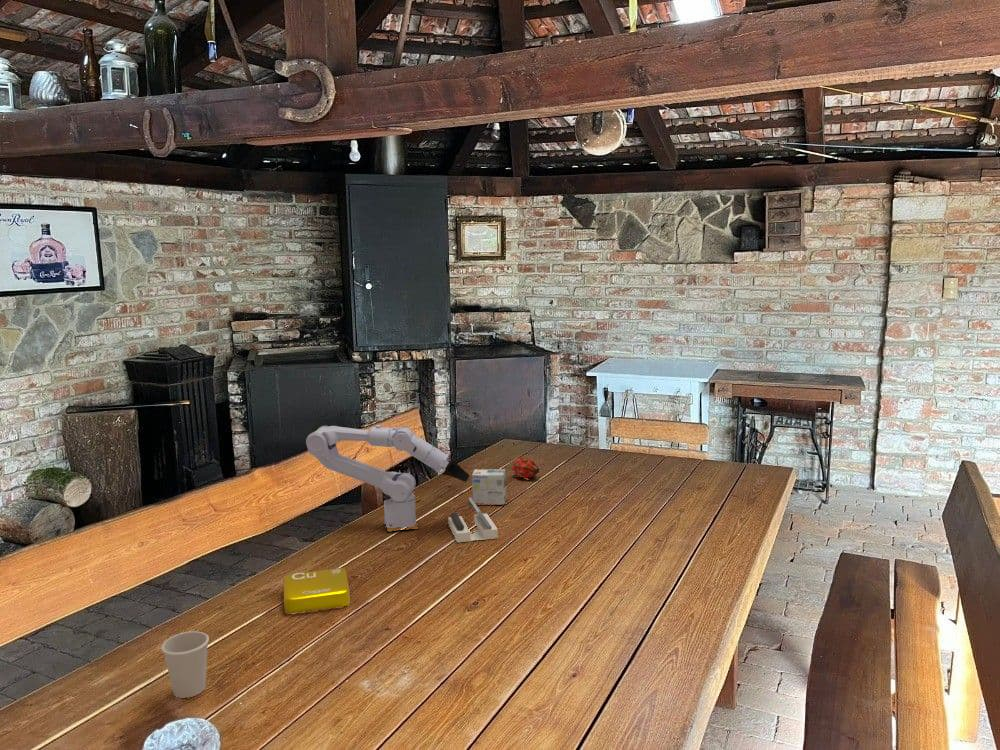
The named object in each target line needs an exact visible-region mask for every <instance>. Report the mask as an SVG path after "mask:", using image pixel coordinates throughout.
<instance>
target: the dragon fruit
mask: <svg viewBox="0 0 1000 750" xmlns="http://www.w3.org/2000/svg"><path fill="white" fill-rule="evenodd" d="M512 463H513V465H512V466H511V468H510V470H511V471H512V472H514V476H515V477H516V476H517V477H518V476H520V478H521V477H524V478H528V477H529V478H536V477H537V475H538V473H539V471H540V468H539V467H538V465H537V464H536V462H534V460H533V461H532V460H531V459H530V458H529V457H526V456H521V457H517V458H516V459H515V460H514V462H512ZM518 478H519V477H518ZM529 478H528V479H529Z"/></svg>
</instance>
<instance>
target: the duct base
mask: <svg viewBox="0 0 1000 750" xmlns="http://www.w3.org/2000/svg"><path fill="white" fill-rule="evenodd" d="M483 515H484V516H485V518H486V519H487V521H488V522H489V524H490V525H491V527H492V528H491V529H489V528H488V527H487V525H486V524H485V522H484V521H483V520H482V518H481V517H480V515H479V514H478V513H477V514H474V515H473V523H474V522H475V524H476V526H477V529H478V530H475V531H473V532H475V533H473V534H471V533H472V532H470V530H469V529H468V527H467V525H466V523H467V522H465V520H464V518H463V517H462V515H458V516H459V518H460V520H461V522H462V524H463V525H464V529H463V530H462V531H459V530H458V529H457V527H456V525H455V523H454V522H453V520H452V518H451V516H448V518H447V519H448V520H447V523H448V524H449V526H448V528H449V527H450V529H451V531H452V533H453V535H454V537H455V539H456V541H457V542H466V541H474V540H486V539H494V538H498V539H499V530H498V527H497V526H496V525H495V523H494V521H493V520H492V519H491V518H490V516H489V515H488V513H483ZM450 529H449V530H450ZM451 531H450V532H451ZM476 531H477V532H476ZM452 533H451V534H452ZM453 535H452V536H453ZM454 537H453V538H454ZM455 539H454V540H455ZM456 541H455V542H456ZM486 541H487V540H486Z"/></svg>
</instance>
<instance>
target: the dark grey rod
mask: <svg viewBox="0 0 1000 750" xmlns="http://www.w3.org/2000/svg"><path fill="white" fill-rule="evenodd" d="M459 516H460V515H459V514H458V513H457V512H453V513H452V512H451V515H450V517H451V518H452V520H453V522H454V523H455V525H456V527H457V529H458V530H459V531H462V530H463V529H464V525H463V524H462V522H461V520H460V518H459Z"/></svg>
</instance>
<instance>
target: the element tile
mask: <svg viewBox="0 0 1000 750" xmlns="http://www.w3.org/2000/svg"><path fill="white" fill-rule="evenodd" d="M283 602H284V603H283V604H284V612H285V611H286V612H287V613H295V612H303V611H311V610H318V609H329V608H336V607H344V606H346V605H348V604H349V603H350V604H351V595H350V586H349V580H348V574H347V570H346V569H345V568H343V567H337V568H329V569H321V570H313V571H304V572H296V573H289V574H287V575H286V576H285V577H283Z"/></svg>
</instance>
